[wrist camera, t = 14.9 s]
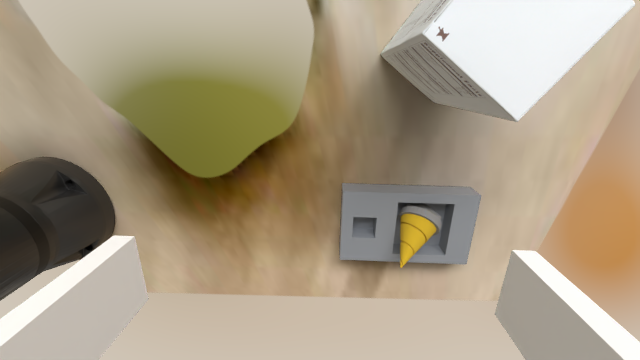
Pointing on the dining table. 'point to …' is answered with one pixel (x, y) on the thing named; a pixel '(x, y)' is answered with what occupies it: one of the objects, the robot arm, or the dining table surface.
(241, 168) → the dining table surface
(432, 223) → the yellow grooved cone
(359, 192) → the bit holder block
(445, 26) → the supplement box
